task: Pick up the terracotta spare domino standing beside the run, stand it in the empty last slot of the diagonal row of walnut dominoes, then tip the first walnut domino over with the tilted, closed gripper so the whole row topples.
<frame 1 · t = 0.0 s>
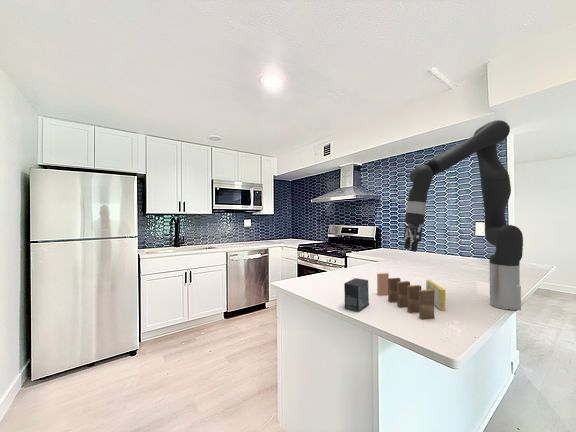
hand: (410, 250, 105), 22 cm above the countertop, tool pointing down, fingers open, 8 cm apart
domino 1: (394, 301, 106), on the countertop
candy box: (434, 304, 103), on the countertop
domino 4: (426, 318, 89), on the countertop
small box: (356, 307, 100), on the countertop
domino 2: (403, 306, 100), on the countertop
spare domino: (383, 294, 115), on the countertop
domino 3: (414, 311, 95), on the countertop
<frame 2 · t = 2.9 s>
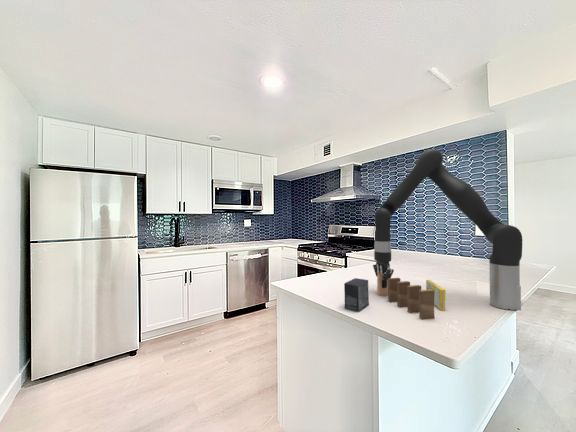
hand: (382, 287, 115), 4 cm above the countertop, tool pointing down, fingers closed on spare domino, 1 cm apart
spare domino: (383, 294, 115), on the countertop, touching gripper
everything else where it was.
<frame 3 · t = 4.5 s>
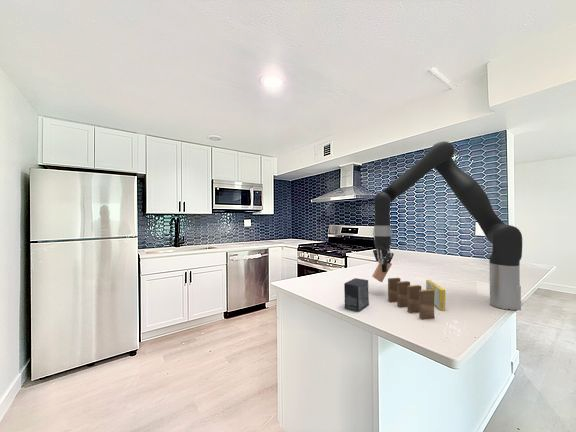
hand: (383, 271, 115), 11 cm above the countertop, tool pointing down, fingers closed on spare domino, 1 cm apart
spare domino: (376, 279, 115), point 7 cm above the countertop, tilted 33°, touching gripper
everything else where it was.
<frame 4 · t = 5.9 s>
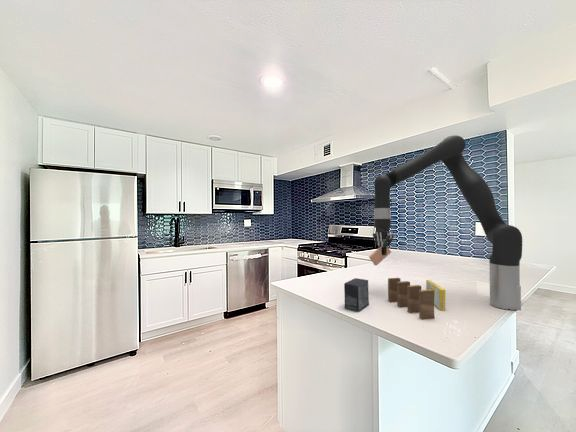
hand: (382, 254, 115), 19 cm above the countertop, tool pointing down, fingers closed on spare domino, 1 cm apart
spare domino: (372, 261, 114), point 16 cm above the countertop, tilted 54°, touching gripper
everything else where it was.
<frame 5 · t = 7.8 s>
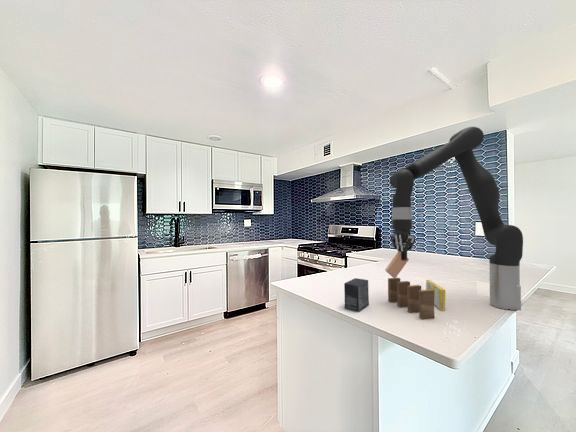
hand: (402, 259, 102), 19 cm above the countertop, tool pointing down, fingers closed on spare domino, 1 cm apart
spare domino: (390, 274, 101), point 13 cm above the countertop, tilted 41°, touching gripper
everything else where it was.
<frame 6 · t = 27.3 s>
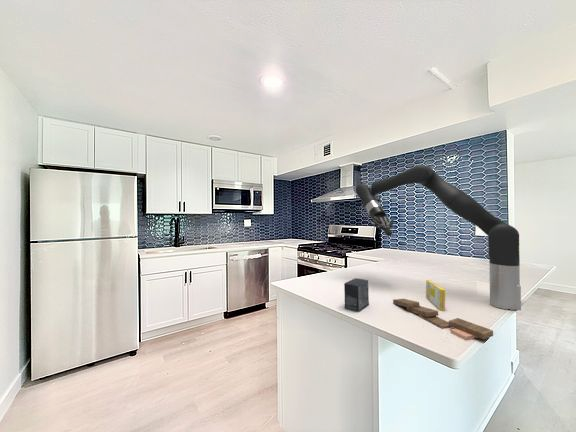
hand: (390, 234, 120), 28 cm above the countertop, tool tilted 45°, fingers closed
domino 1: (398, 301, 104), point 1 cm above the countertop, tilted 79°, touching domino 2
domino 4: (453, 321, 81), point 2 cm above the countertop, tilted 90°
domino 2: (411, 307, 97), point 1 cm above the countertop, tilted 82°, touching domino 1, domino 3
spare domino: (457, 335, 75), on the countertop, tilted 90°
domino 3: (424, 316, 91), on the countertop, tilted 90°, touching domino 2
everything else where it was.
at the end: spare domino tilted 90°; domino 1 tilted 79°; spare domino inside the target area (7.4 cm from its centre), on the countertop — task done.
